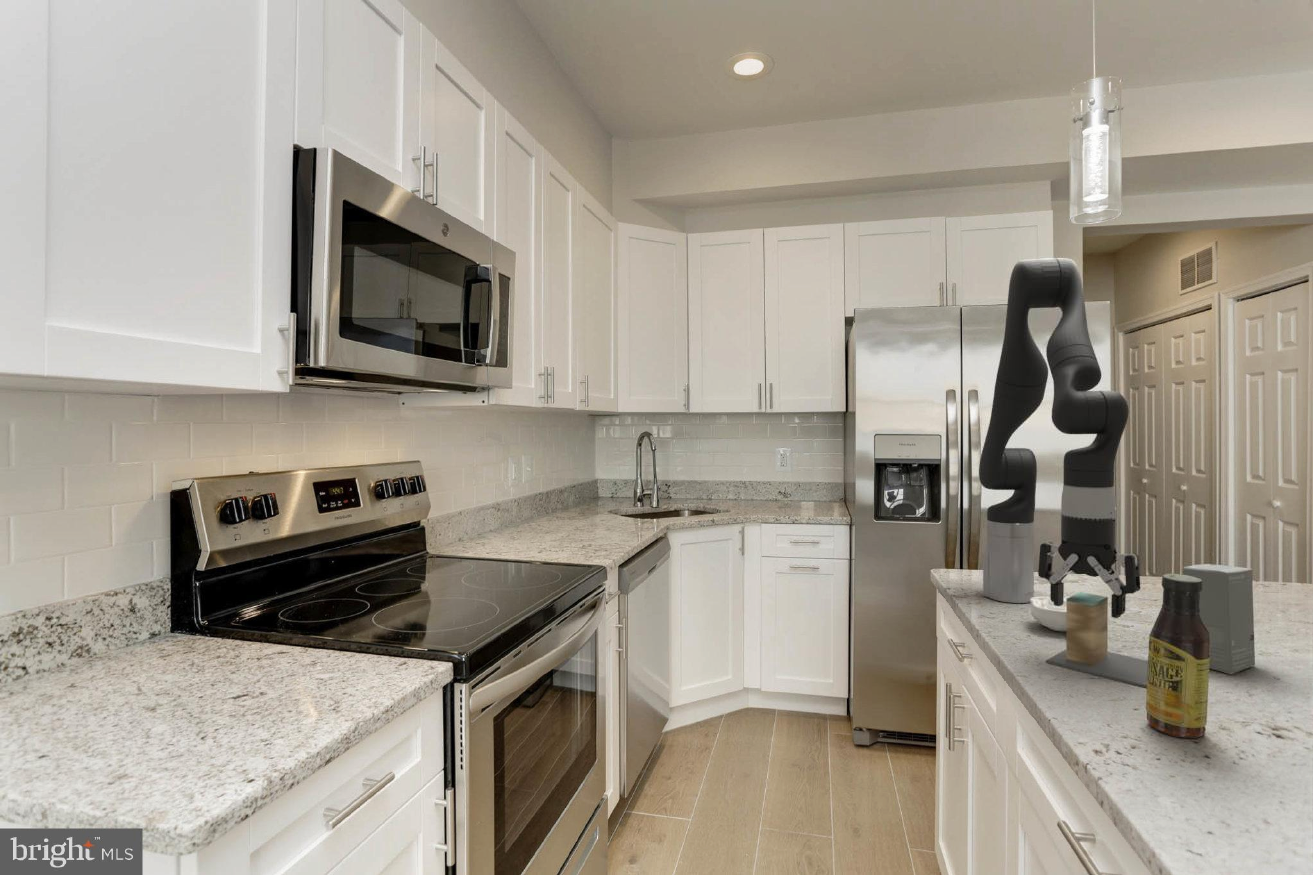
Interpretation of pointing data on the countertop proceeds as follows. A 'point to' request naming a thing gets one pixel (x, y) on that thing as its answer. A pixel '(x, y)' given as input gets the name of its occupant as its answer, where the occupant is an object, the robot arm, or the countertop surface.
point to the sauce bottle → (1178, 661)
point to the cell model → (1049, 613)
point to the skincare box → (1227, 614)
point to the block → (1087, 628)
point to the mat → (1109, 667)
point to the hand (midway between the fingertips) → (1086, 610)
